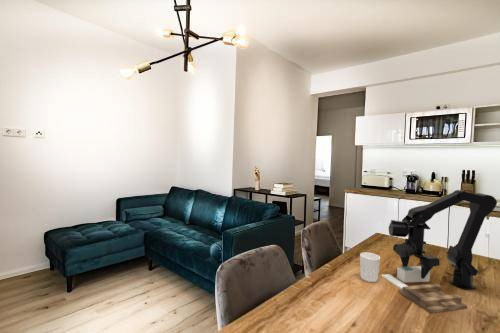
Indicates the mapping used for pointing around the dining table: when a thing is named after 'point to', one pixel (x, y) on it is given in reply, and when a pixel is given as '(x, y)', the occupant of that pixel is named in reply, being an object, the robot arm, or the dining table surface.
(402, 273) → the white box
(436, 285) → the cradle
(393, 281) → the strip
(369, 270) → the white cup
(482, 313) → the dining table surface
